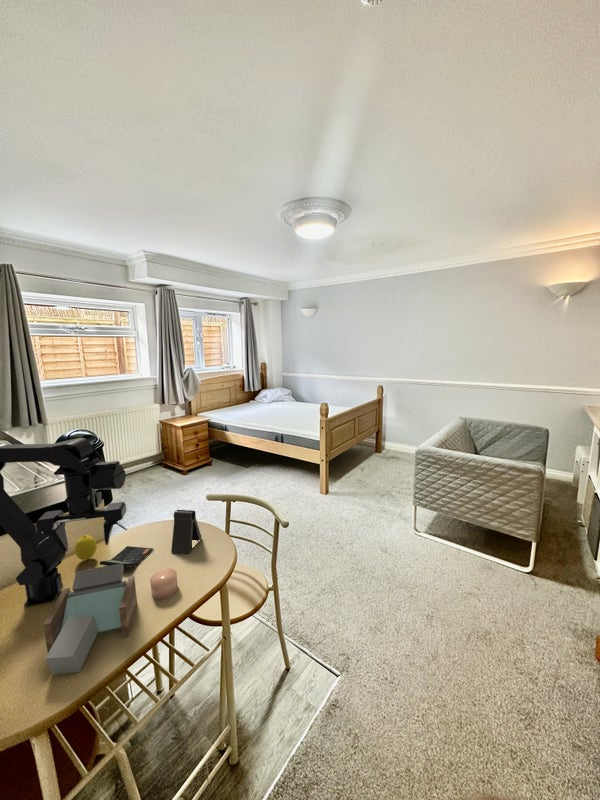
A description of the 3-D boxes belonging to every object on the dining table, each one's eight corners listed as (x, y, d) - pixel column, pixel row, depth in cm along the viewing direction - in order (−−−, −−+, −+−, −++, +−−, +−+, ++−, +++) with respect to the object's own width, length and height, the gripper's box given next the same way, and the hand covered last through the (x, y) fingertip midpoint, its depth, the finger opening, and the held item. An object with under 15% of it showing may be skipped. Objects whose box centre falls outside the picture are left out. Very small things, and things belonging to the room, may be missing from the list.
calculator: (153, 550, 107) (152, 542, 106) (129, 574, 95) (128, 564, 95) (127, 548, 108) (126, 539, 108) (100, 571, 97) (99, 562, 97)
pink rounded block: (150, 601, 84) (148, 587, 84) (153, 584, 90) (151, 571, 90) (177, 595, 86) (175, 581, 85) (178, 579, 92) (177, 566, 92)
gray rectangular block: (74, 632, 73) (52, 674, 65) (68, 617, 71) (45, 658, 63) (98, 630, 73) (79, 672, 66) (93, 615, 71) (72, 656, 64)
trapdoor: (60, 642, 72) (56, 639, 71) (74, 576, 81) (71, 572, 80) (122, 627, 75) (120, 624, 74) (128, 565, 85) (126, 562, 83)
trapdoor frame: (48, 655, 70) (43, 624, 69) (67, 616, 80) (63, 588, 79) (128, 636, 74) (125, 606, 73) (137, 601, 84) (134, 575, 83)
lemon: (84, 554, 105) (81, 530, 104) (101, 554, 105) (99, 530, 104) (72, 565, 100) (68, 540, 98) (90, 565, 99) (87, 540, 98)
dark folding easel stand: (189, 554, 104) (186, 518, 102) (171, 553, 105) (168, 517, 103) (201, 538, 112) (199, 504, 111) (185, 537, 113) (182, 504, 112)
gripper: (127, 473, 94) (133, 526, 96) (50, 482, 89) (58, 537, 91) (118, 489, 83) (124, 547, 85) (29, 500, 78) (39, 561, 80)
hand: (87, 547), depth 86 cm, fingers open, 9 cm apart
